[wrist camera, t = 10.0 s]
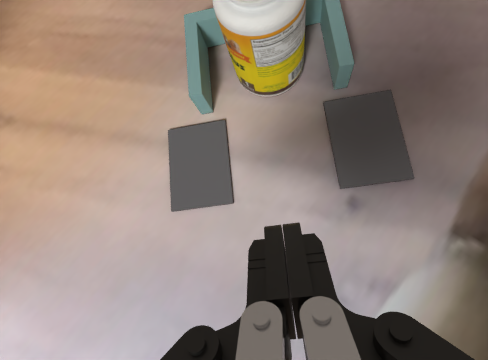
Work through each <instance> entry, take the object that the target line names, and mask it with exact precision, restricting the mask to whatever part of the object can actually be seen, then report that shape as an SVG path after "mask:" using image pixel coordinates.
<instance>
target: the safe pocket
mask: <svg viewBox="0 0 488 360" xmlns="http://www.w3.org/2000/svg"><path fill="white" fill-rule="evenodd" d="M184 23H185V40H186V56H187V72H188V88H189V97H190V98H191V100H192V101H193V103H194V104H195V105H196V107H197V108H198V110H199V111H200V112H201V114H206V113H211V112H213V106H212V94H211V82H210V70H209V58H208V47H212V46H217V45H221V44H226V42H225V40H224V37H223V34H222V31H221V28H220V25H219V23H218V20H217V17H216V14H215V10H214V8H210V9H206V10H202V11H198V12H194V13H190V14H186V15H184ZM316 23H320V25H321V30H322V34H323V39H324V44H325V49H326V54H327V58H328V63H329V68H330V73H331V77H332V82H333V87H334V90H335V89H340V88H345V87H347V86H348V82H349V79H350V76H351V73H352V70H353V66H354V60H353V56H352V51H351V47H350V43H349V39H348V34H347V30H346V26H345V22H344V17H343V13H342V9H341V5H340V0H306V14H305V26H307V25H311V24H316Z"/></svg>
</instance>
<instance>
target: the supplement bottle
mask: <svg viewBox="0 0 488 360" xmlns="http://www.w3.org/2000/svg"><path fill="white" fill-rule="evenodd" d="M213 7H214V10H215V14H216V17H217V20H218V23H219V25H220V28H221V31H222V34H223V37H224V40H225V42H226V45H227V48H228V51H229V54H230V57H231V59H232V62H233V65H234V68H235V71H236V73H237V76H238V78H239V81H240V82H241V84H242V85H243V87H244V88H245V89H247V90H248V91H249V92H251V93H253V94H255V95H258V96H263V97H271V96H277V95H280V94H282V93H284V92H286V91H288V90H289V89H290V88H292V87H293V86H294V85H295V84H296V82H297V81H298V79H299V78H300V76H301V73H302V70H303V63H304V41H305V14H306V0H213Z"/></svg>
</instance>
